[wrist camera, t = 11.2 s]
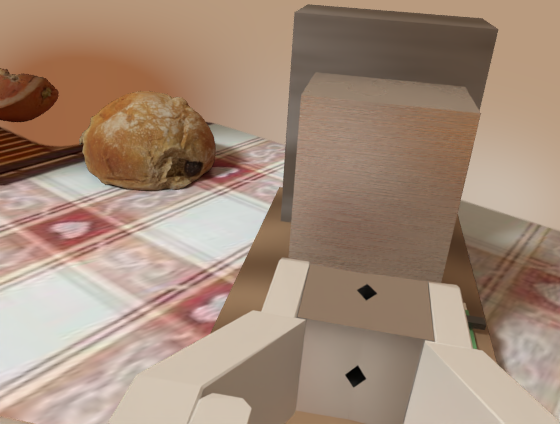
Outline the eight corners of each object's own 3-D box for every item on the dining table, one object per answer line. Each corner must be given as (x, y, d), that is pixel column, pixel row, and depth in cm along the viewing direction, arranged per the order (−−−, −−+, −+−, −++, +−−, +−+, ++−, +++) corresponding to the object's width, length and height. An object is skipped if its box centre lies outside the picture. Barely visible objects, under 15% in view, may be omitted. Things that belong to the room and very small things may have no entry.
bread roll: (132, 243, 39) (163, 163, 34) (44, 158, 41) (61, 71, 37) (217, 199, 47) (252, 128, 42) (138, 129, 49) (163, 54, 44)
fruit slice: (76, 121, 52) (70, 70, 50) (19, 139, 47) (10, 83, 45) (16, 107, 55) (8, 58, 53) (-44, 122, 50) (-56, 68, 48)
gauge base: (526, 555, 16) (709, 139, 10) (159, 476, 18) (133, 79, 12) (451, 229, 36) (500, 20, 30) (278, 206, 38) (291, 3, 32)
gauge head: (490, 360, 22) (563, 122, 17) (283, 325, 23) (301, 94, 18) (468, 269, 28) (517, 77, 23) (305, 246, 29) (323, 59, 24)
